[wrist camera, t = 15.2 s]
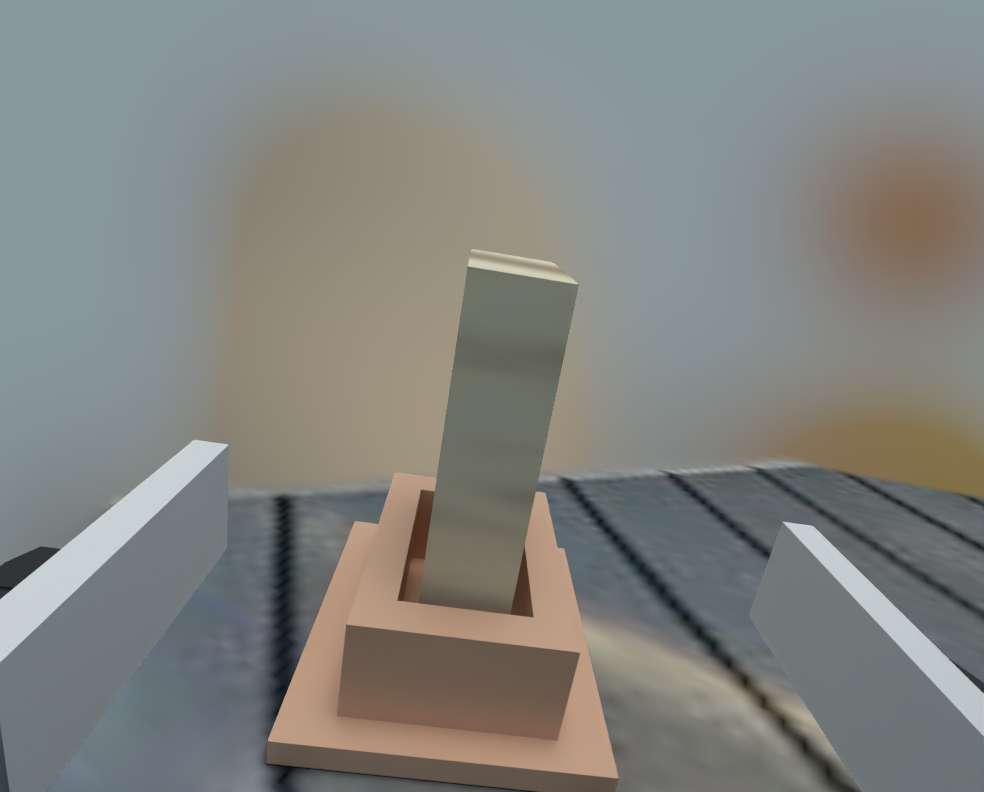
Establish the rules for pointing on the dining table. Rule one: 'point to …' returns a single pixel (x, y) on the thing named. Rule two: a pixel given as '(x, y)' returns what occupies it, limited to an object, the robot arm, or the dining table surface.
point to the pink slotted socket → (446, 669)
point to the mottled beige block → (495, 428)
